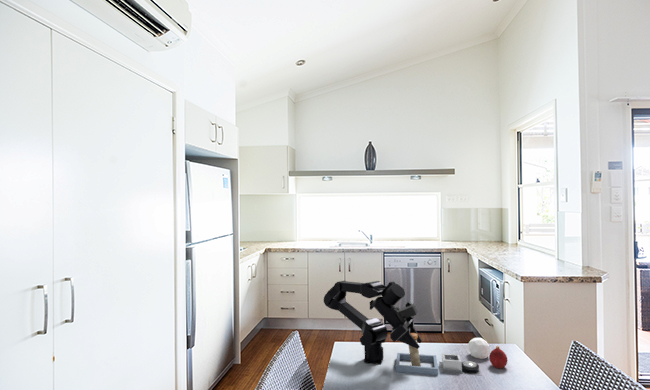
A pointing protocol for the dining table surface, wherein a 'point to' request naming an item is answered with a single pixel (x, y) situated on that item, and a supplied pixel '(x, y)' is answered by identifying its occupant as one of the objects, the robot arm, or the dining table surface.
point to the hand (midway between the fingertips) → (419, 345)
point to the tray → (417, 368)
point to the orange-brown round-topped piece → (414, 353)
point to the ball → (478, 348)
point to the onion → (498, 358)
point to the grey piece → (458, 365)
